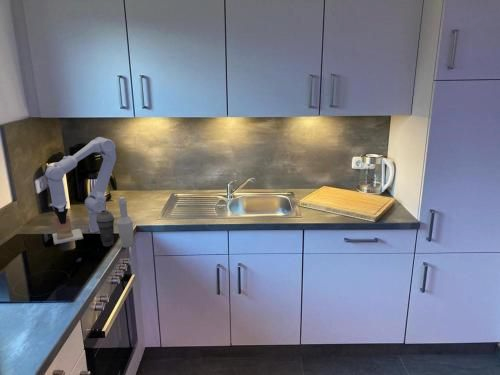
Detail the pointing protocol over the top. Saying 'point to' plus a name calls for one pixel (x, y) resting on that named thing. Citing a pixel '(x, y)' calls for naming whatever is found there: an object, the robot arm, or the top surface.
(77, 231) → the baseplate
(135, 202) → the top surface
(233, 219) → the top surface
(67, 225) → the rust brick
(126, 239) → the faceted bottle
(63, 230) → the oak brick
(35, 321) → the top surface
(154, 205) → the top surface
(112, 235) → the beverage cup
